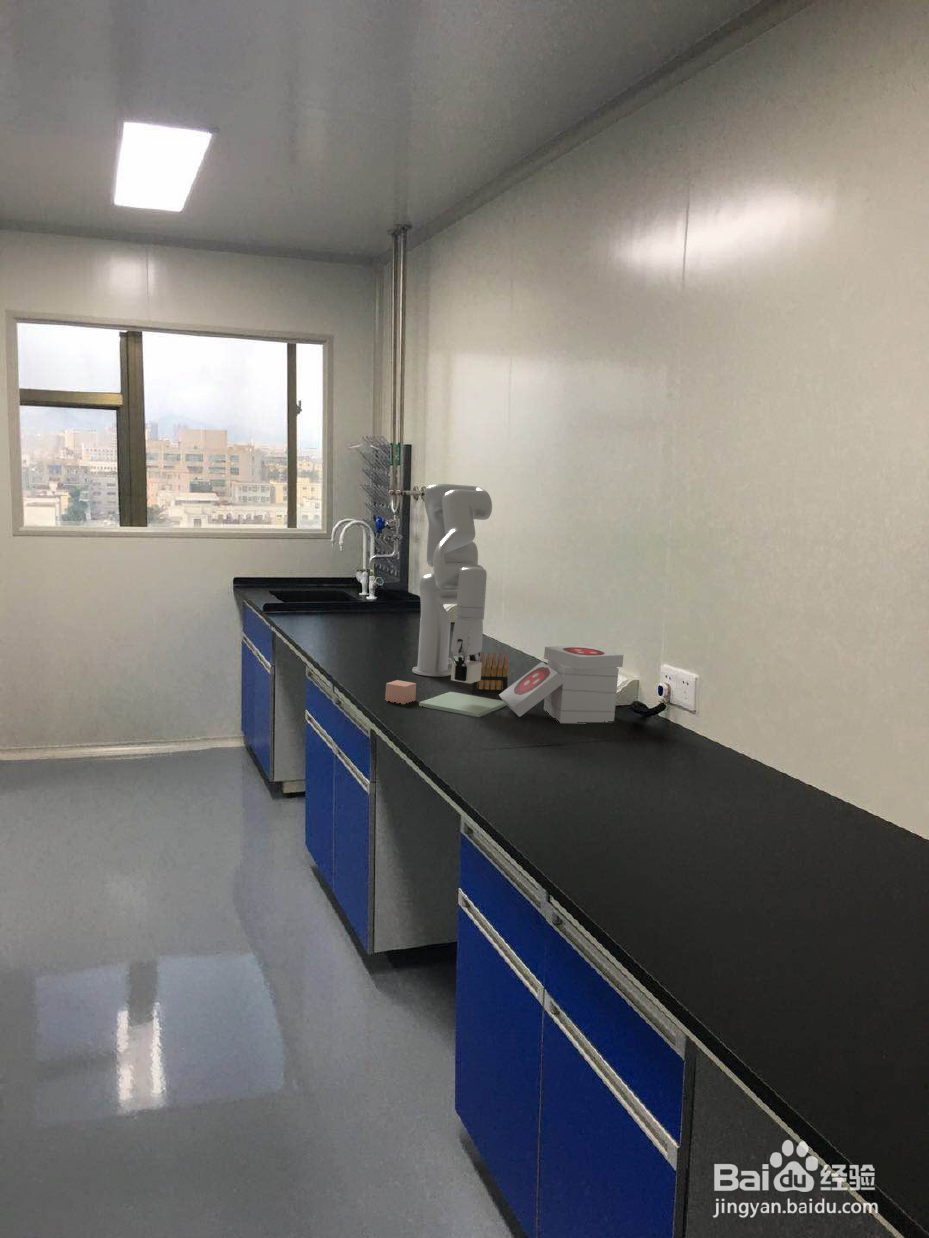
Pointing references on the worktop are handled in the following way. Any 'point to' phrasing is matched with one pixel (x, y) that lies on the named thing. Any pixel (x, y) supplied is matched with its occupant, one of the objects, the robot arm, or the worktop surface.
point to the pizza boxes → (569, 685)
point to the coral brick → (400, 691)
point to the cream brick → (469, 671)
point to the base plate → (463, 704)
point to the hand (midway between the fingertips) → (465, 677)
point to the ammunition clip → (492, 676)
